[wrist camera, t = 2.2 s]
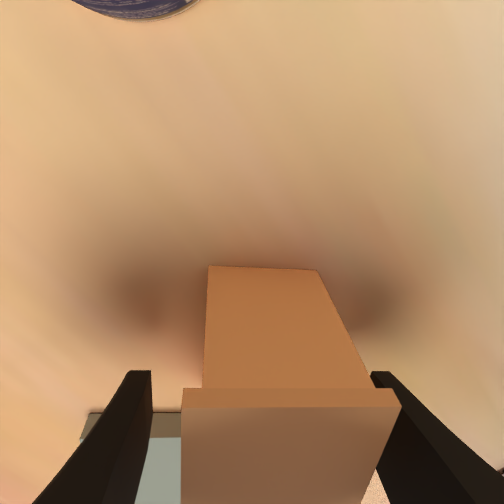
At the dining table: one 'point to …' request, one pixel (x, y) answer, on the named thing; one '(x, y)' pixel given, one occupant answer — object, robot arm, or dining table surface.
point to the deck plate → (157, 460)
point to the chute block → (280, 397)
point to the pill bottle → (138, 8)
